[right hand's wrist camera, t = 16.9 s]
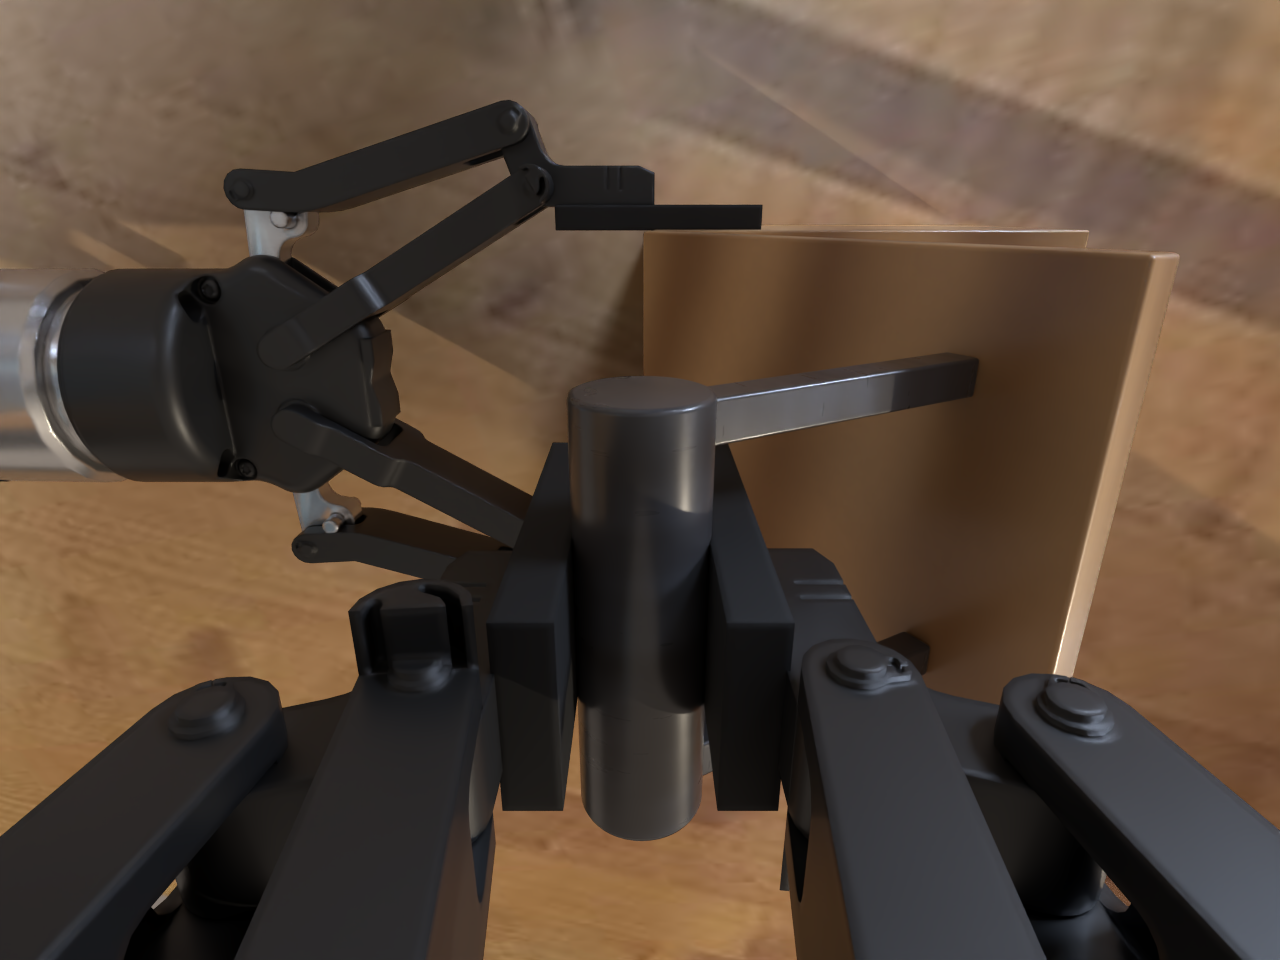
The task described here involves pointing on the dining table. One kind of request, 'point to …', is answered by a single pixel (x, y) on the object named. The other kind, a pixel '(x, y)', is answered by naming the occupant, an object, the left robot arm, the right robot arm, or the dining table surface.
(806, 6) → the dining table surface
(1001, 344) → the lid
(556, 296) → the dining table surface
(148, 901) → the right robot arm
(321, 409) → the left robot arm
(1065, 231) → the chest
